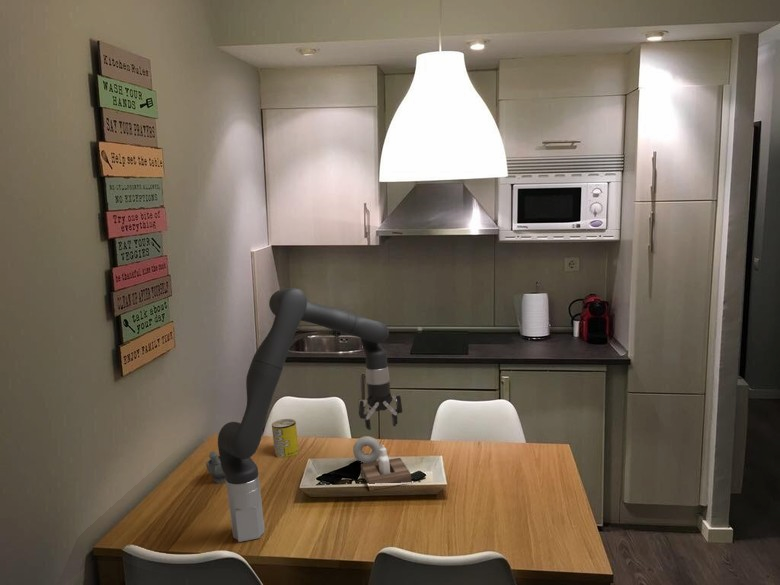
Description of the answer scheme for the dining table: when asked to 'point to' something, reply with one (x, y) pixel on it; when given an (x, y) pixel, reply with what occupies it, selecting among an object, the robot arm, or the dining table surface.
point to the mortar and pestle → (215, 468)
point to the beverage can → (285, 438)
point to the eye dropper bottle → (383, 461)
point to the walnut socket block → (395, 476)
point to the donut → (362, 443)
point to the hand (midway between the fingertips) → (381, 427)
